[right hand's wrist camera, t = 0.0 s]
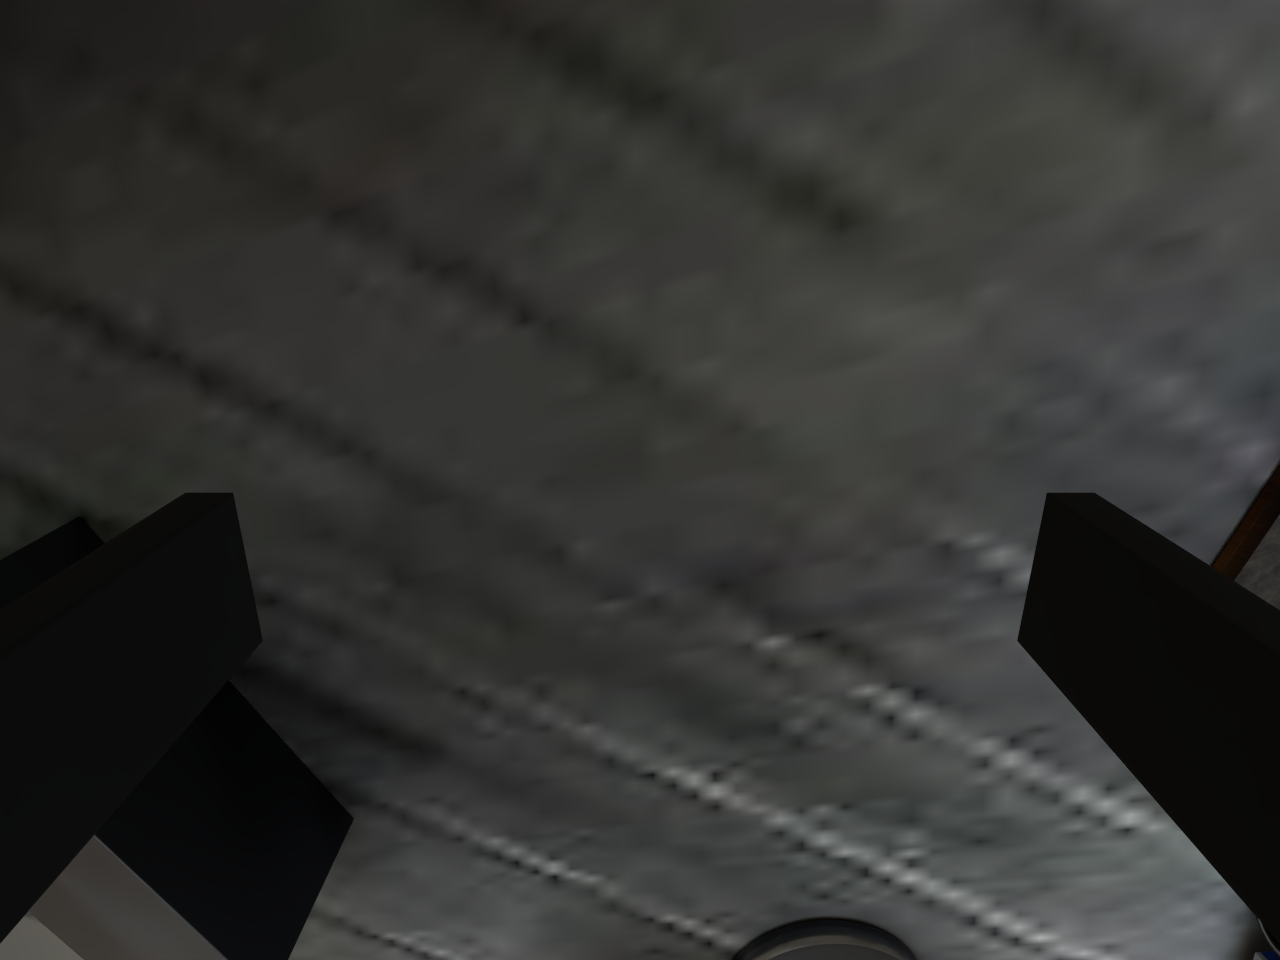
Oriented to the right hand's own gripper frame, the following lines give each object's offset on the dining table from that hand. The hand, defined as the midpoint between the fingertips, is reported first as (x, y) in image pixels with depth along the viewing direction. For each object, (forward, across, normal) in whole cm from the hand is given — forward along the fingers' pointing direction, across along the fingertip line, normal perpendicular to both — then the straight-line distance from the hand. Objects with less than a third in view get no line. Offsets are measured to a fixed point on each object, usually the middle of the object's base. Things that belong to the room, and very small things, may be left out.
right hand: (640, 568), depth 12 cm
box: (+28, +28, +23) cm, 46 cm away
